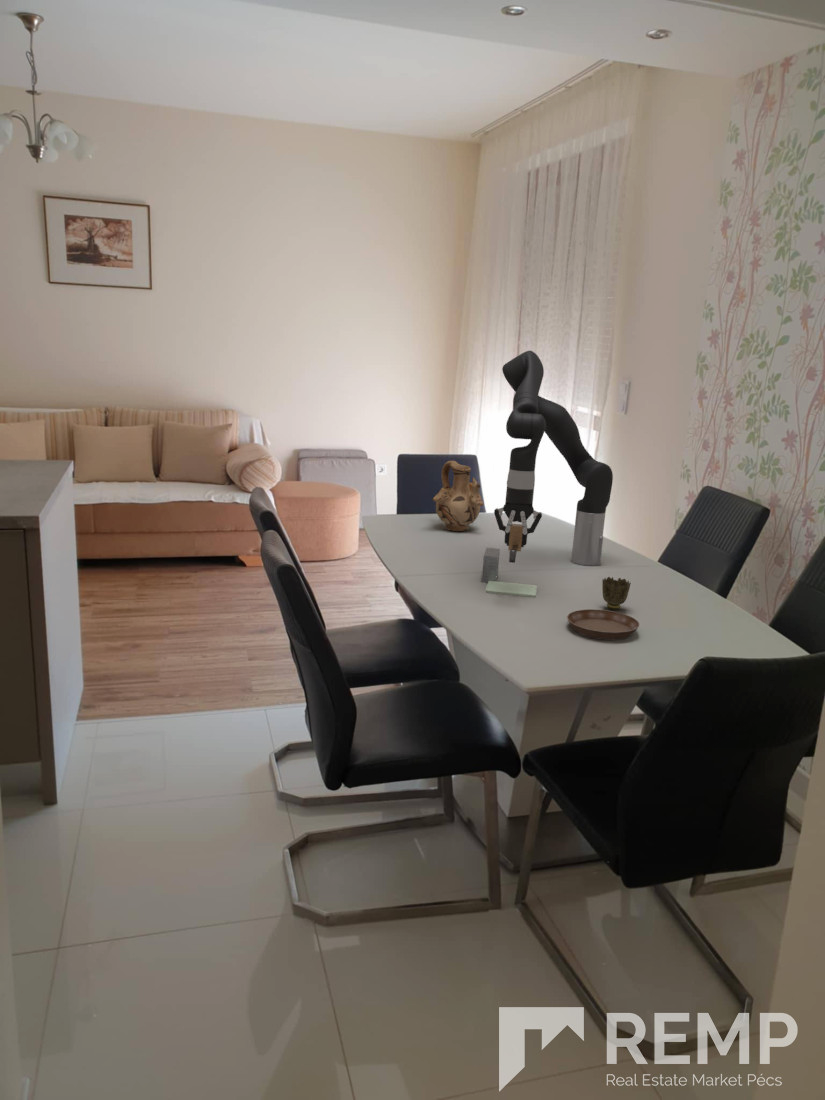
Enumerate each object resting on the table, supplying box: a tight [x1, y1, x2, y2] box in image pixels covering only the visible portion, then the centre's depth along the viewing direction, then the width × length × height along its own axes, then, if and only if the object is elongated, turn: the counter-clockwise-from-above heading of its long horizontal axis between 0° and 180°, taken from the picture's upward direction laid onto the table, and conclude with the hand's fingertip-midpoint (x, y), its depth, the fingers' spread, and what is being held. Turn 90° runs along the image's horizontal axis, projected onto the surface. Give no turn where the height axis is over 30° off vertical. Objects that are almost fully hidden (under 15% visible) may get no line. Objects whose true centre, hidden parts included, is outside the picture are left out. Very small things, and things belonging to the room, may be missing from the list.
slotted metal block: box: [481, 547, 501, 584], centre depth 249 cm, size 4×10×8 cm, turn 170°
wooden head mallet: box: [507, 523, 523, 564], centre depth 229 cm, size 17×4×7 cm, turn 170°
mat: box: [485, 580, 538, 598], centre depth 239 cm, size 14×10×1 cm
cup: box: [601, 576, 631, 611], centre depth 226 cm, size 8×7×8 cm
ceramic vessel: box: [432, 460, 485, 532], centre depth 308 cm, size 18×19×25 cm
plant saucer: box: [566, 608, 640, 641], centre depth 209 cm, size 18×18×3 cm
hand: (515, 545), depth 236 cm, fingers closed on wooden head mallet, 3 cm apart
